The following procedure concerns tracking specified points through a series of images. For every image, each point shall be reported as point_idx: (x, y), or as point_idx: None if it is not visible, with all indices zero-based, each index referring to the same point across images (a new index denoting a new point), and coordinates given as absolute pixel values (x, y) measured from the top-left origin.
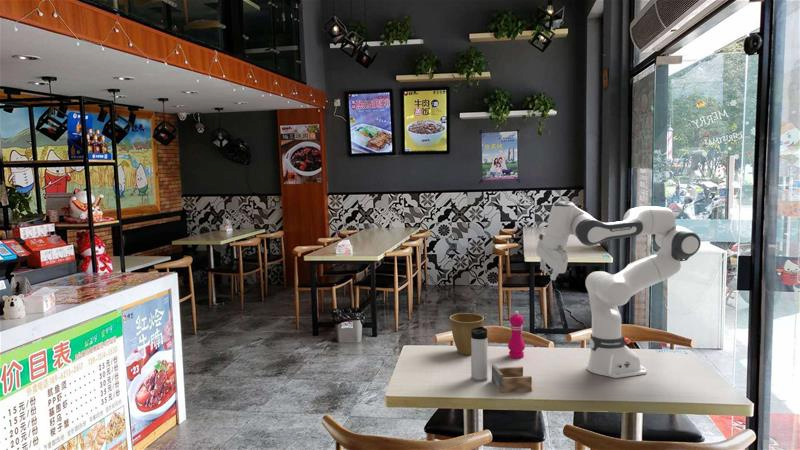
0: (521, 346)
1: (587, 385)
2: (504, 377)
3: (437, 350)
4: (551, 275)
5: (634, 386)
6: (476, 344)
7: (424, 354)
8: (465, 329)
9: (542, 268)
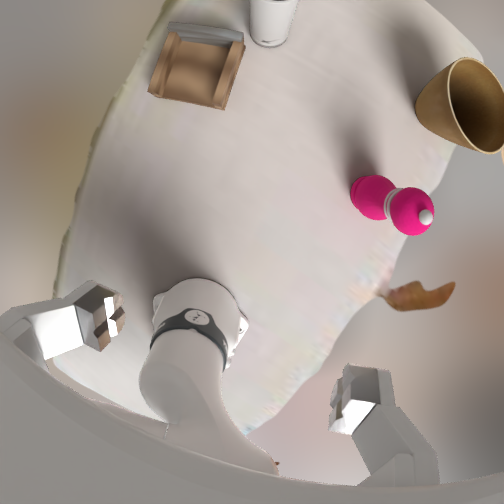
0: (358, 198)
1: (139, 223)
2: (174, 36)
3: None
4: (78, 303)
5: None
6: None
7: (442, 40)
8: (441, 73)
9: (348, 383)
